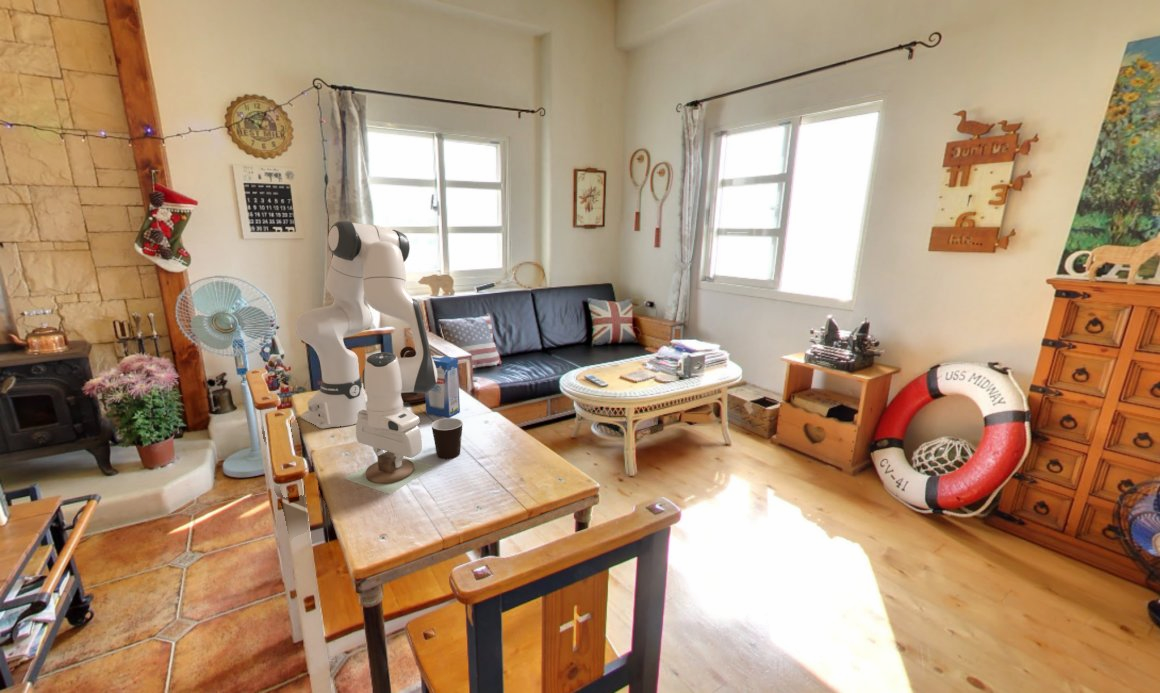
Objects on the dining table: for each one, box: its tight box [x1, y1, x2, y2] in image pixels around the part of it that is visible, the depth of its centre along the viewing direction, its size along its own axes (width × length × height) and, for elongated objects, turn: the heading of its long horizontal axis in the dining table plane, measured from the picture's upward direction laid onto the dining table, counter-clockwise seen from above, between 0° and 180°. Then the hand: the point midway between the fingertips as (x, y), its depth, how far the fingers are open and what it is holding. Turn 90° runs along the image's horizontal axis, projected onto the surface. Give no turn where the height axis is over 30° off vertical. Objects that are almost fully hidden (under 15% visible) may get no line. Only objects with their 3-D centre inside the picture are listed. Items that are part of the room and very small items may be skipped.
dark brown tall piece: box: [399, 346, 425, 406], centre depth 181 cm, size 15×15×20 cm
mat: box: [344, 456, 435, 495], centre depth 129 cm, size 16×16×1 cm
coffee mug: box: [431, 417, 464, 460], centre depth 141 cm, size 12×9×10 cm
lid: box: [366, 451, 414, 484], centre depth 129 cm, size 12×12×5 cm
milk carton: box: [424, 354, 461, 418], centre depth 169 cm, size 10×6×20 cm, turn 67°
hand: (389, 464), depth 129 cm, fingers closed on lid, 4 cm apart
